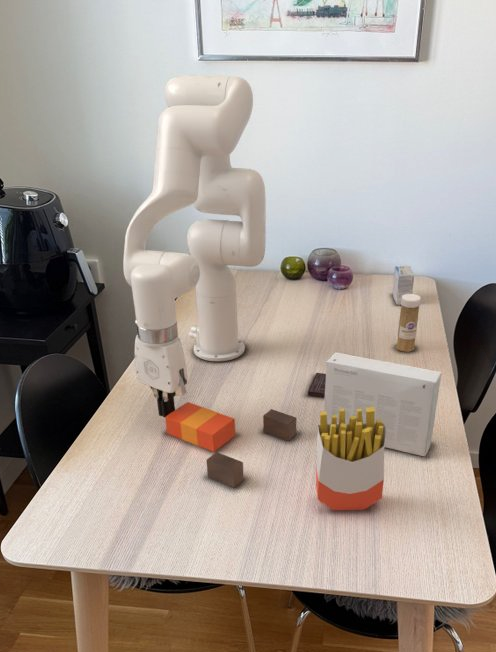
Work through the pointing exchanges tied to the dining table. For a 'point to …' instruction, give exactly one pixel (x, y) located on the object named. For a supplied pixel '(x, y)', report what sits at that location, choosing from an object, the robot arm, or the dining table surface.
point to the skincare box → (385, 398)
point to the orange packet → (200, 426)
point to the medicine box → (402, 282)
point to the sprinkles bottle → (408, 322)
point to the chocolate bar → (318, 385)
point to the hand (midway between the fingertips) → (167, 413)
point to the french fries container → (350, 461)
